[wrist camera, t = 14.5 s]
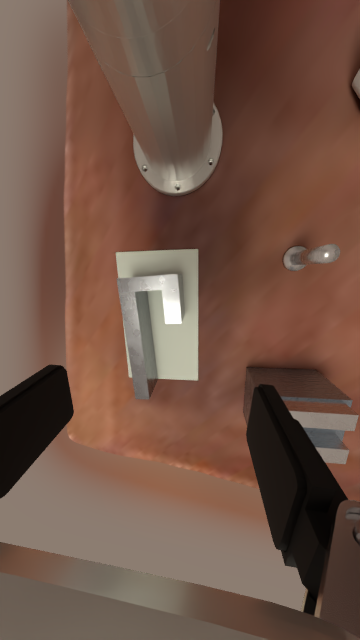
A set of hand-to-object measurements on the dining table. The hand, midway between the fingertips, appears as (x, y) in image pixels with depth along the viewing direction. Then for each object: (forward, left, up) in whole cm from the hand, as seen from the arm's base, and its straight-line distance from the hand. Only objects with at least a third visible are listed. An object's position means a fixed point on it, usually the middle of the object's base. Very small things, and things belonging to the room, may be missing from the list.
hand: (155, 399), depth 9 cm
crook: (+4, -5, -24) cm, 25 cm away
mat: (+2, -5, -24) cm, 25 cm away
